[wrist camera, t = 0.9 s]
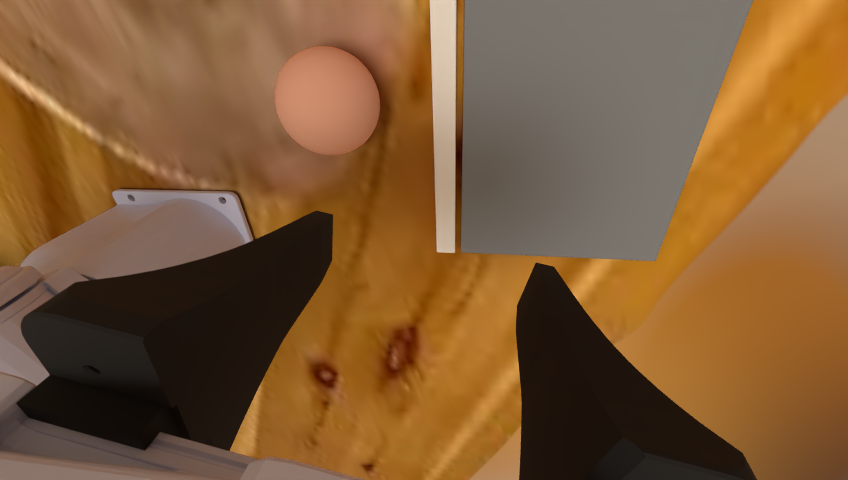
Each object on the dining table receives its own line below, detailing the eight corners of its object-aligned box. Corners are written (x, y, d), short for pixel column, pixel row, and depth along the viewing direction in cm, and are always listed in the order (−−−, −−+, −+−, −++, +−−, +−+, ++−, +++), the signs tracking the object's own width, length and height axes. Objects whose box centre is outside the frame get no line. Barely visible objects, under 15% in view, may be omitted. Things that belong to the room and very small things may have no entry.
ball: (312, 138, 22) (270, 169, 17) (291, 43, 19) (237, 53, 15) (393, 138, 21) (370, 170, 17) (384, 39, 18) (355, 49, 14)
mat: (437, 247, 24) (436, 252, 24) (426, -187, 14) (424, -193, 13) (653, 257, 23) (655, 262, 22) (834, -239, 12) (847, -248, 11)
